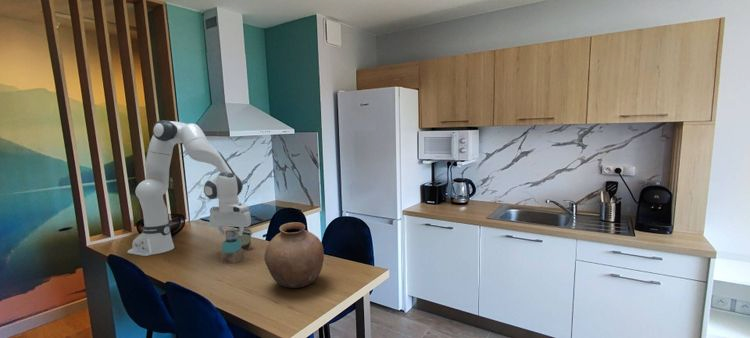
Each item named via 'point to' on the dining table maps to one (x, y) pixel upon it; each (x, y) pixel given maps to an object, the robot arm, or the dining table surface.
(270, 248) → the pottery
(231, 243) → the teal middle block
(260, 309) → the dining table surface
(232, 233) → the metal cylinder
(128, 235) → the dining table surface
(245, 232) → the food container
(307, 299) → the dining table surface
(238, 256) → the walnut base block
